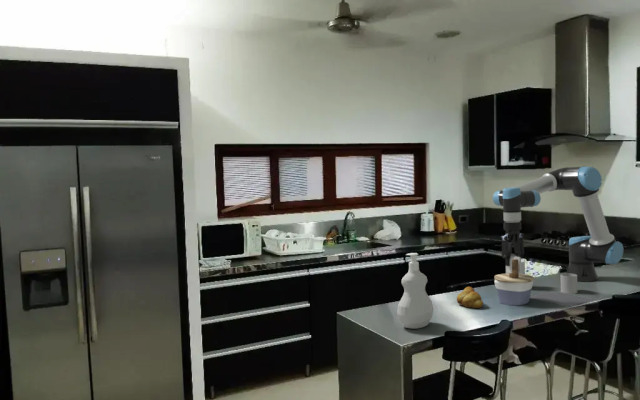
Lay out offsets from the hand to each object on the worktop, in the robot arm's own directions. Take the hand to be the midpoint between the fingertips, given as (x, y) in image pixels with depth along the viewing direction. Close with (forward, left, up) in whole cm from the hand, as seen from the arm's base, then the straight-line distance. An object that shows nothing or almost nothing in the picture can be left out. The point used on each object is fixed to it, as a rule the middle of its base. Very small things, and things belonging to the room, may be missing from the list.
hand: (513, 271), depth 224 cm
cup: (-35, +6, -15) cm, 38 cm away
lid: (0, 0, -3) cm, 3 cm away
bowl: (0, 0, -15) cm, 15 cm away
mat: (-19, +10, -14) cm, 26 cm away
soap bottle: (+58, -3, -15) cm, 60 cm away
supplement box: (-23, -16, -15) cm, 32 cm away
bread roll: (+19, -9, -15) cm, 26 cm away
